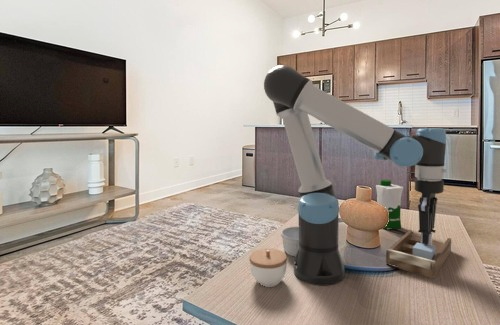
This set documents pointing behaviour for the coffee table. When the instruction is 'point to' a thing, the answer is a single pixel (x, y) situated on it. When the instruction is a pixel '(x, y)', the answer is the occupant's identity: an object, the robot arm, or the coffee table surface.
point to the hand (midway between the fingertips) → (425, 252)
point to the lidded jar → (268, 266)
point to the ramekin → (290, 240)
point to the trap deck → (406, 261)
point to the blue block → (424, 251)
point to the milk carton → (390, 201)
